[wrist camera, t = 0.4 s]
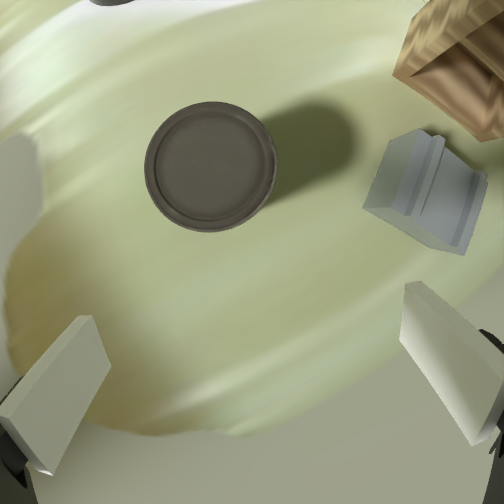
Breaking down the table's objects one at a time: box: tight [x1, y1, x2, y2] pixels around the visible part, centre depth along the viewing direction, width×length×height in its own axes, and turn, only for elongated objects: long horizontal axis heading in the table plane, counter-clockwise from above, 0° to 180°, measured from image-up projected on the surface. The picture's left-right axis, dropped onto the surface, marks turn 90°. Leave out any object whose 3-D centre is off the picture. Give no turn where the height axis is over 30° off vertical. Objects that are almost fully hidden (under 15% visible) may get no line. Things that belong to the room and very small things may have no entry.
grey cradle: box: [363, 129, 488, 256], centre depth 33 cm, size 10×12×10 cm
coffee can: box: [144, 102, 278, 232], centre depth 30 cm, size 10×10×14 cm
